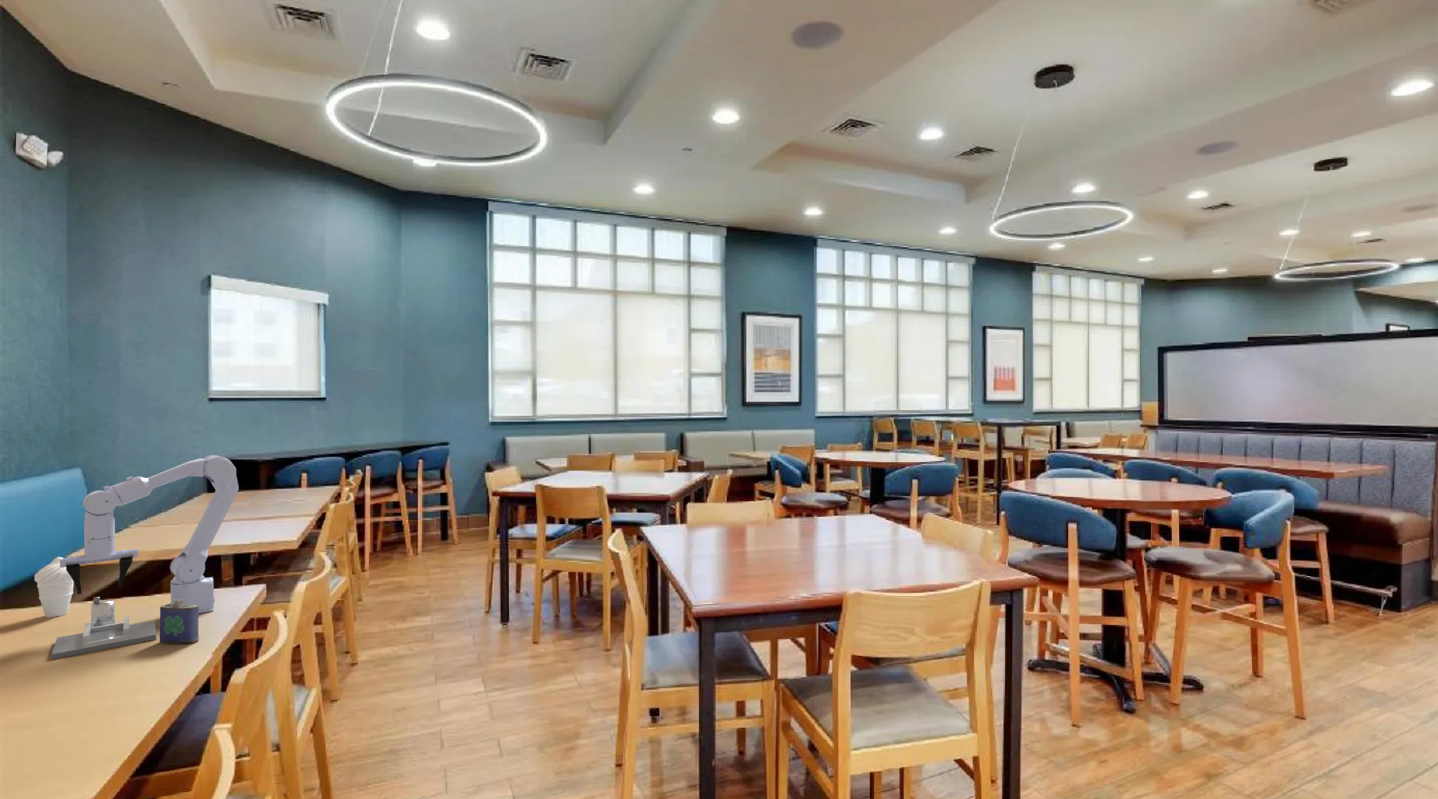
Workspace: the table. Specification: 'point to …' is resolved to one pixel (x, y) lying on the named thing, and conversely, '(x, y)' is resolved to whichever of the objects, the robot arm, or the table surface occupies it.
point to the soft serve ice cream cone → (54, 588)
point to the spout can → (102, 612)
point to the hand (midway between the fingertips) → (100, 589)
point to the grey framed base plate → (104, 638)
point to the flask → (179, 623)
